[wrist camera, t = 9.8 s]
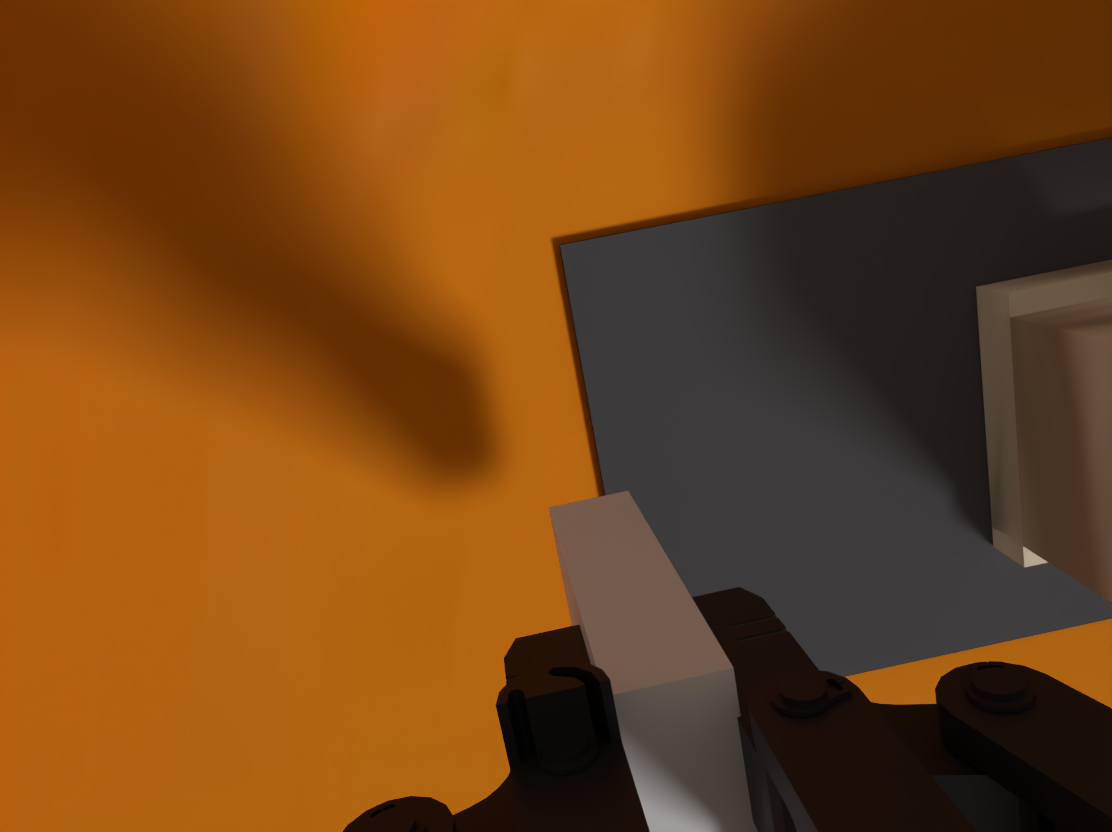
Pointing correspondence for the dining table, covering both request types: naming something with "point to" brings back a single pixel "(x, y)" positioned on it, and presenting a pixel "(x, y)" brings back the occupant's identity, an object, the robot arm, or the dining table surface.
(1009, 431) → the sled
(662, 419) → the dark grey square plate
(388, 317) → the dining table surface
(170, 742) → the dining table surface
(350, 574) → the dining table surface
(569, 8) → the dining table surface
